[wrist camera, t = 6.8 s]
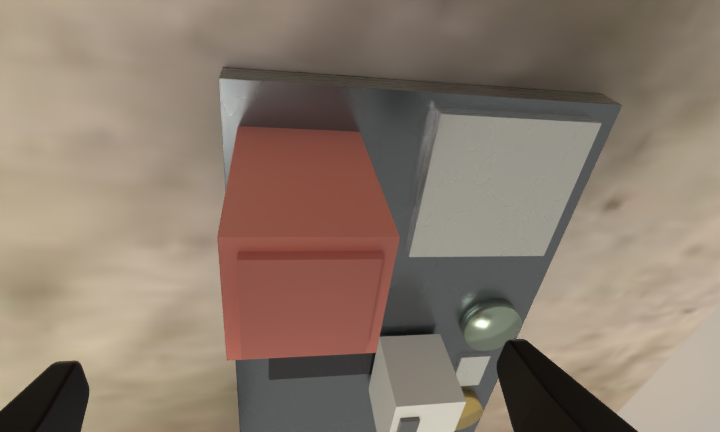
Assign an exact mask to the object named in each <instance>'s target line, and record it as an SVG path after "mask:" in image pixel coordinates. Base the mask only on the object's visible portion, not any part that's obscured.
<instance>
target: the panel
mask: <svg viewBox="0 0 720 432" xmlns="http://www.w3.org/2000/svg"><path fill="white" fill-rule="evenodd" d="M219 89H220V106H221V123H222V139H223V156H224V173H225V190H226V188H227V182H228V177H229V171H230V166H231V160H232V155H233V150H234V144H235V139H236V133H237V128H238V126H248V127H269V128H290V129H312V130H333V131H354V132H360V134H361V137H362V139H363V142H364V144H365V147H366V150H367V152H368V155H369V158H370V160H371V163H372V165H373V168H374V171H375V173H376V176H377V179H378V181H379V184H380V186H381V189H382V192H383V194H384V197H385V200H386V202H387V205H388V207H389V210H390V213H391V215H392V218H393V221H394V223H395V226H396V228H397V231H398V234H399V236H400V239H399V244H398V249H397V253H396V258H395V263H394V268H393V273H392V278H391V283H390V288H389V293H388V298H387V303H386V307H385V312H384V317H383V322H382V327H381V332H380V337H384V336H407V335H429V334H440V335H441V338H442V340H443V343H444V345H445V348H446V350H447V353H448V356H449V358H450V361H451V363H452V366H453V368H454V371H455V373H456V376H457V379H458V381H459V384H460V386H461V389H462V391H463V394H464V397H465V399H466V404H465V406H464V409H463V411H462V414H461V416H460V419H459V421H458V423H457V426H456V428H455V431H454V432H474V431H475V428H476V426H477V424H478V422H479V420H480V417H481V416H482V413H483V411H484V409H485V406H486V404H487V402H488V400H489V397H490V395H491V393H492V391H493V389H494V386H495V384H496V382H497V380H498V374H497V369H496V365H497V360H498V358H499V356H500V354H501V351H502V349H503V347H504V344H505V342H506V341H508V340H510V339H516V338H517V336H518V333H519V332H520V330H521V327H522V325H523V322H524V320H525V318H526V316H527V314H528V311H529V309H530V307H531V305H532V303H533V300H534V298H535V296H536V294H537V291H538V289H539V287H540V285H541V283H542V280H543V278H544V276H545V274H546V272H547V269H548V267H549V265H550V263H551V261H552V258H553V256H554V254H555V252H556V249H557V247H558V245H559V243H560V241H561V238H562V236H563V234H564V232H565V230H566V227H567V225H568V223H569V221H570V219H571V216H572V214H573V212H574V210H575V208H576V205H577V203H578V201H579V199H580V196H581V194H582V192H583V190H584V188H585V185H586V183H587V181H588V179H589V177H590V174H591V172H592V170H593V168H594V166H595V163H596V161H597V159H598V157H599V155H600V152H601V150H602V148H603V146H604V143H605V141H606V139H607V137H608V135H609V132H610V130H611V128H612V126H613V124H614V121H615V119H616V117H617V115H618V113H619V110H620V108H621V106H622V105H621V104H619V103H617V102H615V101H613V100H612V99H610V98H608V97H606V96H604V95H603V94H593V93H579V92H565V91H551V90H537V89H523V88H509V87H495V86H480V85H466V84H452V83H438V82H424V81H410V80H396V79H382V78H368V77H354V76H340V75H326V74H312V73H298V72H284V71H270V70H256V69H242V68H228V67H223V68H222V71H221V74H220V77H219ZM375 355H376V353H362V354H342V355H323V356H303V357H283V358H264V359H244V360H236V374H237V391H238V408H239V424H240V432H377V431H376V426H375V421H374V415H373V410H372V405H371V400H370V395H369V385H370V380H371V375H372V370H373V365H374V360H375Z"/></svg>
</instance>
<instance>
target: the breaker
mask: <svg viewBox="0 0 720 432" xmlns="http://www.w3.org/2000/svg"><path fill="white" fill-rule="evenodd" d="M369 395H370V400H371V405H372V410H373V415H374V421H375V426H376V431H377V432H454V431H455V428H456V426H457V423H458V421H459V419H460V416H461V414H462V411H463V409H464V406H465V404H466V399H465V397H464V394H463V391H462V389H461V386H460V384H459V381H458V379H457V376H456V373H455V371H454V368H453V366H452V363H451V361H450V358H449V356H448V353H447V350H446V348H445V345H444V343H443V340H442V338H441V335H440V334H429V335H407V336H384V337H379V342H378V347H377V352H376V355H375V360H374V365H373V370H372V375H371V380H370V385H369Z"/></svg>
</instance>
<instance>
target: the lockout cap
mask: <svg viewBox="0 0 720 432" xmlns="http://www.w3.org/2000/svg"><path fill="white" fill-rule="evenodd" d="M217 238H218V251H219V264H220V277H221V290H222V304H223V317H224V330H225V343H226V356H227V360H244V359H264V358H283V357H303V356H323V355H342V354H362V353H376V352H377V347H378V342H379V337H380V332H381V327H382V322H383V317H384V312H385V307H386V303H387V298H388V293H389V288H390V283H391V278H392V273H393V268H394V263H395V258H396V253H397V249H398V244H399V239H400V236H399V234H398V231H397V228H396V226H395V223H394V221H393V218H392V215H391V213H390V210H389V207H388V205H387V202H386V200H385V197H384V194H383V192H382V189H381V186H380V184H379V181H378V179H377V176H376V173H375V171H374V168H373V165H372V163H371V160H370V158H369V155H368V152H367V150H366V147H365V144H364V142H363V139H362V137H361V134H360V132H354V131H333V130H312V129H290V128H269V127H248V126H238V128H237V133H236V139H235V144H234V150H233V155H232V160H231V166H230V171H229V177H228V182H227V188H226V193H225V198H224V204H223V209H222V215H221V220H220V226H219V231H218V237H217Z"/></svg>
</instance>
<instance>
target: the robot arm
mask: <svg viewBox="0 0 720 432" xmlns="http://www.w3.org/2000/svg"><path fill="white" fill-rule="evenodd" d="M496 369H497V374H498V378H499V381H500V385H501V388H502V392H503V395H504V399H505V402H506V406H507V409H508V413H509V417H510V420H511V424H512V427H513V430H514V432H638V431H637V430H635V429H634V428H633V427H632V426H630V425H629V424H628V423H627V422H625V421H624V420H623V419H622V418H621V417H619V416H618V415H617V414H616V413H615V412H613V411H612V410H611V409H610V408H609V407H607V406H606V405H605V404H604V403H602V402H601V401H600V400H599V399H598V398H596V397H595V396H594V395H593V394H591V393H590V392H589V391H588V390H587V389H585V388H584V387H583V386H582V385H580V384H579V383H578V382H577V381H576V380H574V379H573V378H572V377H571V376H569V375H568V374H567V373H566V372H565V371H563V370H562V369H561V368H560V367H558V366H557V365H556V364H555V363H554V362H552V361H551V360H550V359H549V358H547V357H546V356H545V355H544V354H543V353H541V352H540V351H539V350H538V349H536V348H535V347H534V346H533V345H532V344H530V343H529V342H528V341H526V340H524V339H510V340H508V341H506V342H505V344H504V347H503V349H502V351H501V354H500V356H499V358H498V360H497V365H496ZM88 399H89V385H88V382H87V379H86V377H85V374H84V371H83V368H82V365H81V364H80V363H79V362H78V361H59V362H55V363H53V364H52V365H50V366H49V367H48V368H47V369H46V370H45V371H44V372H43V373H42V374H40V375H39V376H38V377H37V378H36V379H35V380H34V381H33V382H32V383H31V384H29V385H28V386H27V387H26V388H25V389H24V390H23V391H22V392H21V393H20V394H18V395H17V396H16V397H15V398H14V399H13V400H12V401H11V402H10V403H9V404H8V405H6V406H5V407H4V408H3V409H2V410H1V411H0V432H81V428H82V424H83V420H84V415H85V411H86V407H87V403H88Z"/></svg>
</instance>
